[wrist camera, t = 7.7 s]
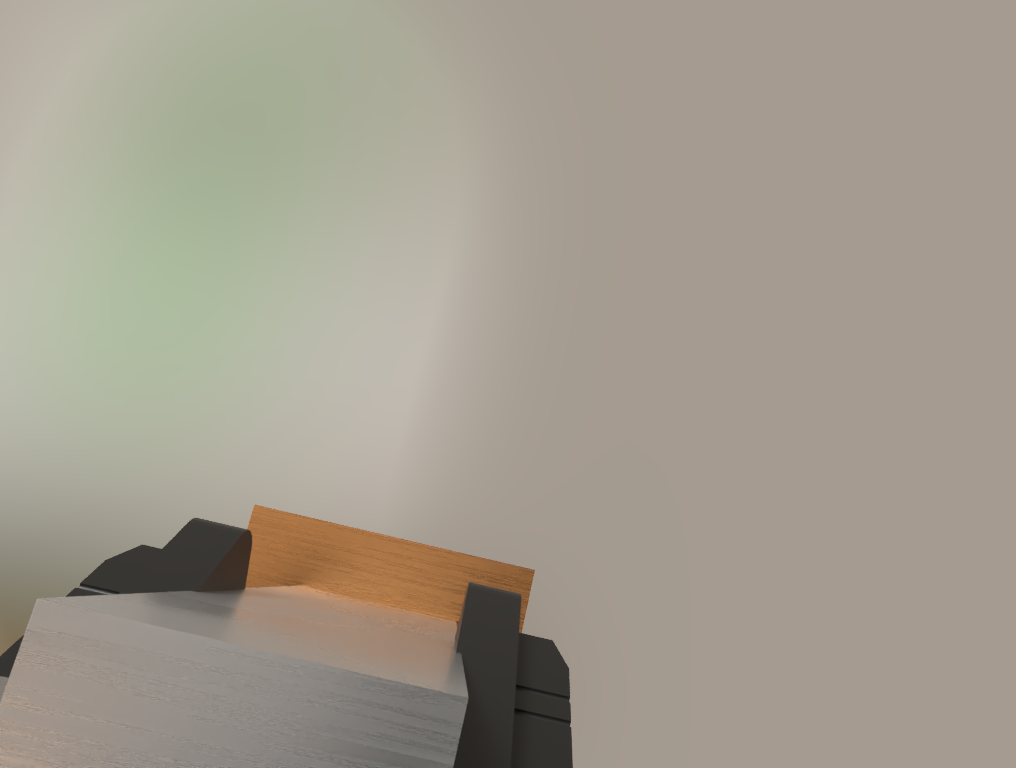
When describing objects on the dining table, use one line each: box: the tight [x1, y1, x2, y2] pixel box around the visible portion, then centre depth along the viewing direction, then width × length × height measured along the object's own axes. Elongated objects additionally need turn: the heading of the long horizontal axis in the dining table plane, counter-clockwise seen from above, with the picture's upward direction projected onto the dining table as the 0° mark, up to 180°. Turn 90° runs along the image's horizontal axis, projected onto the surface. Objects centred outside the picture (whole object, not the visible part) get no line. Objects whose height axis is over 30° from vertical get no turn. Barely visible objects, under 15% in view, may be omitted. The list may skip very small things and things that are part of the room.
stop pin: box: [0, 505, 534, 768], centre depth 13 cm, size 17×6×6 cm, turn 4°
